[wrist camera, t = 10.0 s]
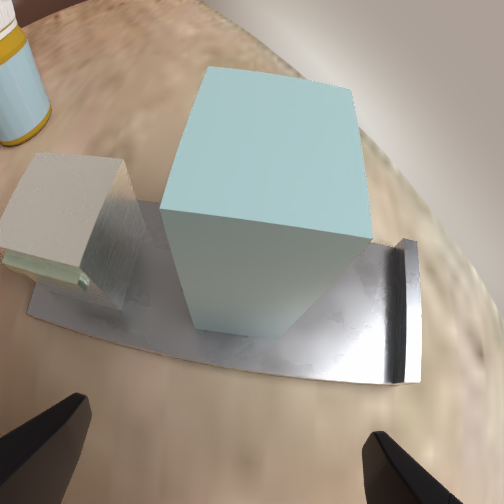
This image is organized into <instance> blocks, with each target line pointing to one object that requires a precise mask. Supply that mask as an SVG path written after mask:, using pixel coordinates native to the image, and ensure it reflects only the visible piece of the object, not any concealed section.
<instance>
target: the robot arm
mask: <svg viewBox="0 0 504 504" xmlns="http://www.w3.org/2000/svg"><path fill="white" fill-rule="evenodd" d="M91 417H92V412H91V408H90V404H89V400H88V397H87V396H86V395H83V394H80V393H73V394H72V395H70V396H69V397H67V398H65V399H64V400H62V401H60V402H59V403H57V404H56V405H54V406H52V407H51V408H49V409H47V410H46V411H44V412H42V413H41V414H39V415H38V416H36V417H34V418H33V419H31V420H29V421H28V422H26V423H24V424H23V425H21V426H19V427H18V428H16V429H14V430H13V431H11V432H9V433H8V434H6V435H4V436H3V437H1V438H0V504H61V502H62V499H63V497H64V494H65V491H66V489H67V487H68V484H69V482H70V479H71V477H72V474H73V472H74V470H75V467H76V465H77V462H78V460H79V457H80V455H81V451H82V448H83V444H84V441H85V438H86V434H87V431H88V428H89V424H90V421H91ZM362 461H363V474H364V488H365V495H366V500H367V504H463V503H462V502H461V501H460V500H458V499H457V498H456V497H455V496H454V495H453V494H452V493H449V491H448V490H447V489H446V488H445V487H444V486H443V485H441V484H440V483H439V482H438V481H437V480H436V479H435V478H434V477H433V476H432V475H430V474H429V473H428V472H427V471H426V470H425V469H424V468H423V467H422V466H421V465H420V464H419V463H417V462H416V461H415V460H414V459H413V458H412V457H411V456H410V455H409V454H408V453H407V452H406V451H405V450H404V449H402V448H401V447H400V446H399V445H398V444H397V443H396V442H395V441H394V440H393V439H392V438H391V437H390V436H389V435H388V434H387V433H385V432H384V431H375V432H372V433H371V434H370V436H369V437H368V439H367V441H366V442H365V444H364V445H363V448H362Z"/></svg>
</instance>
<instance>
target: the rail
mask: <svg viewBox="0 0 504 504" xmlns="http://www.w3.org/2000/svg"><path fill="white" fill-rule="evenodd" d="M160 205H161V204H159V203H152V202H146V201H140V200H137V199H136V196H135V193H134V190H133V187H132V184H131V181H130V178H129V175H128V172H127V169H126V165H125V162H124V159H116V158H107V157H96V156H85V155H73V154H59V153H43V152H37V153H36V154H35V156H34V157H33V159H32V161H31V162H30V164H29V166H28V168H27V169H26V171H25V173H24V175H23V176H22V178H21V180H20V182H19V184H18V185H17V187H16V189H15V191H14V193H13V195H12V197H11V199H10V201H9V203H8V205H7V207H6V209H5V211H4V213H3V215H2V217H1V219H0V253H1V254H2V255H3V256H4V257H3V260H2V263H3V264H4V265H5V266H6V267H8V268H9V269H10V270H11V271H13V272H16V273H19V274H22V275H26V276H29V277H30V278H31V279H32V280H34V281H35V282H36V285H35V288H34V291H33V294H32V297H31V300H30V304H29V307H28V310H27V314H29V315H31V316H32V317H34V318H37V319H40V320H42V321H45V322H48V323H51V324H54V325H57V326H60V327H63V328H66V329H69V330H72V331H75V332H79V333H82V334H85V335H88V336H92V337H95V338H98V339H102V340H105V341H109V342H112V343H116V344H120V345H123V346H127V347H131V348H135V349H139V350H143V351H147V352H151V353H155V354H159V355H164V356H168V357H173V358H177V359H182V360H187V361H191V362H196V363H201V364H206V365H212V366H217V367H223V368H228V369H234V370H240V371H247V372H253V373H260V374H267V375H274V376H281V377H289V378H298V379H307V380H317V381H328V382H339V383H353V384H370V385H395V386H400V385H406V384H413V383H419V382H420V372H421V290H420V272H419V259H418V247H417V241H412V240H408V239H404V238H403V239H402V240H401V241H400V242H399V243H398V244H397V245H396V246H395V247H389V246H384V245H380V244H375V243H369V244H368V245H367V246H366V247H365V248H364V249H363V250H362V252H361V253H360V254H359V255H358V256H357V257H356V258H355V259H354V261H353V262H352V263H351V264H350V265H349V266H348V267H347V268H346V269H345V270H344V271H343V273H342V274H341V275H340V276H339V277H338V278H337V279H336V280H335V281H334V282H333V283H332V284H331V285H330V287H329V288H328V289H327V290H326V291H325V292H324V293H323V294H322V295H321V296H320V297H319V298H318V299H317V300H316V301H315V302H314V303H313V304H312V305H311V306H310V307H309V309H308V310H307V311H306V312H305V313H304V314H303V315H302V316H301V317H300V318H299V319H298V320H297V321H296V322H295V323H294V324H293V325H292V326H291V327H290V328H289V329H288V330H287V331H286V332H285V333H284V334H283V335H282V336H281V337H280V338H279V339H272V338H263V337H254V336H246V335H238V334H230V333H222V332H215V331H208V330H201V329H195V327H194V324H193V321H192V318H191V315H190V312H189V309H188V306H187V303H186V299H185V296H184V293H183V290H182V286H181V283H180V280H179V277H178V273H177V270H176V267H175V263H174V260H173V256H172V253H171V249H170V246H169V242H168V238H167V235H166V231H165V228H164V224H163V220H162V216H161V212H160V209H159V208H160Z"/></svg>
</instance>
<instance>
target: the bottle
mask: <svg viewBox="0 0 504 504" xmlns="http://www.w3.org/2000/svg"><path fill="white" fill-rule="evenodd" d="M50 113H51V105H50V102H49V99H48V97H47V94H46V91H45V89H44V86H43V83H42V81H41V78H40V75H39V73H38V70H37V67H36V64H35V61H34V58H33V55H32V52H31V49H30V46H29V43H28V40H27V38H26V35H25V33H24V32H23V30H22V29H21V28H20V27H19V26H18V25H17V21H16V18H15V12H14V8H13V5H12V1H11V0H0V143H1V144H3V145H9V146H16V145H19V144H22V143H24V142H26V141H28V140H30V139H31V138H33V137H34V136H35V135H37V134H38V133H39V132H40V131H41V130H42V129H43V127H44V126H45V124H46V123H47V121H48V118H49V116H50Z"/></svg>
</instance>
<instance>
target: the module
mask: <svg viewBox="0 0 504 504" xmlns="http://www.w3.org/2000/svg"><path fill="white" fill-rule="evenodd" d="M159 209H160V212H161V216H162V220H163V224H164V228H165V231H166V235H167V238H168V242H169V246H170V249H171V253H172V256H173V260H174V263H175V267H176V270H177V273H178V277H179V280H180V283H181V286H182V290H183V293H184V296H185V299H186V303H187V306H188V309H189V312H190V315H191V318H192V321H193V324H194V327H195V329H201V330H208V331H215V332H222V333H230V334H238V335H246V336H254V337H263V338H272V339H279V338H280V337H281V336H282V335H283V334H284V333H285V332H286V331H287V330H288V329H289V328H290V327H291V326H292V325H293V324H294V323H295V322H296V321H297V320H298V319H299V318H300V317H301V316H302V315H303V314H304V313H305V312H306V311H307V310H308V309H309V307H310V306H311V305H312V304H313V303H314V302H315V301H316V300H317V299H318V298H319V297H320V296H321V295H322V294H323V293H324V292H325V291H326V290H327V289H328V288H329V287H330V285H331V284H332V283H333V282H334V281H335V280H336V279H337V278H338V277H339V276H340V275H341V274H342V273H343V271H344V270H345V269H346V268H347V267H348V266H349V265H350V264H351V263H352V262H353V261H354V259H355V258H356V257H357V256H358V255H359V254H360V253H361V252H362V250H363V249H364V248H365V247H366V246H367V245H368V244H369V243H370V241H371V240H372V239H373V236H372V225H371V214H370V205H369V196H368V188H367V180H366V173H365V166H364V159H363V152H362V146H361V140H360V134H359V128H358V123H357V118H356V113H355V107H354V102H353V98H352V93H351V90H349V89H346V88H341V87H337V86H333V85H328V84H324V83H319V82H315V81H310V80H305V79H300V78H294V77H289V76H283V75H277V74H270V73H263V72H256V71H249V70H240V69H231V68H221V67H208V69H207V72H206V74H205V77H204V79H203V82H202V84H201V87H200V89H199V92H198V95H197V97H196V100H195V102H194V105H193V108H192V110H191V113H190V116H189V119H188V121H187V124H186V127H185V130H184V133H183V136H182V139H181V141H180V144H179V147H178V150H177V153H176V156H175V159H174V163H173V166H172V169H171V172H170V175H169V178H168V182H167V185H166V188H165V191H164V195H163V198H162V202H161V205H160V208H159Z"/></svg>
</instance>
